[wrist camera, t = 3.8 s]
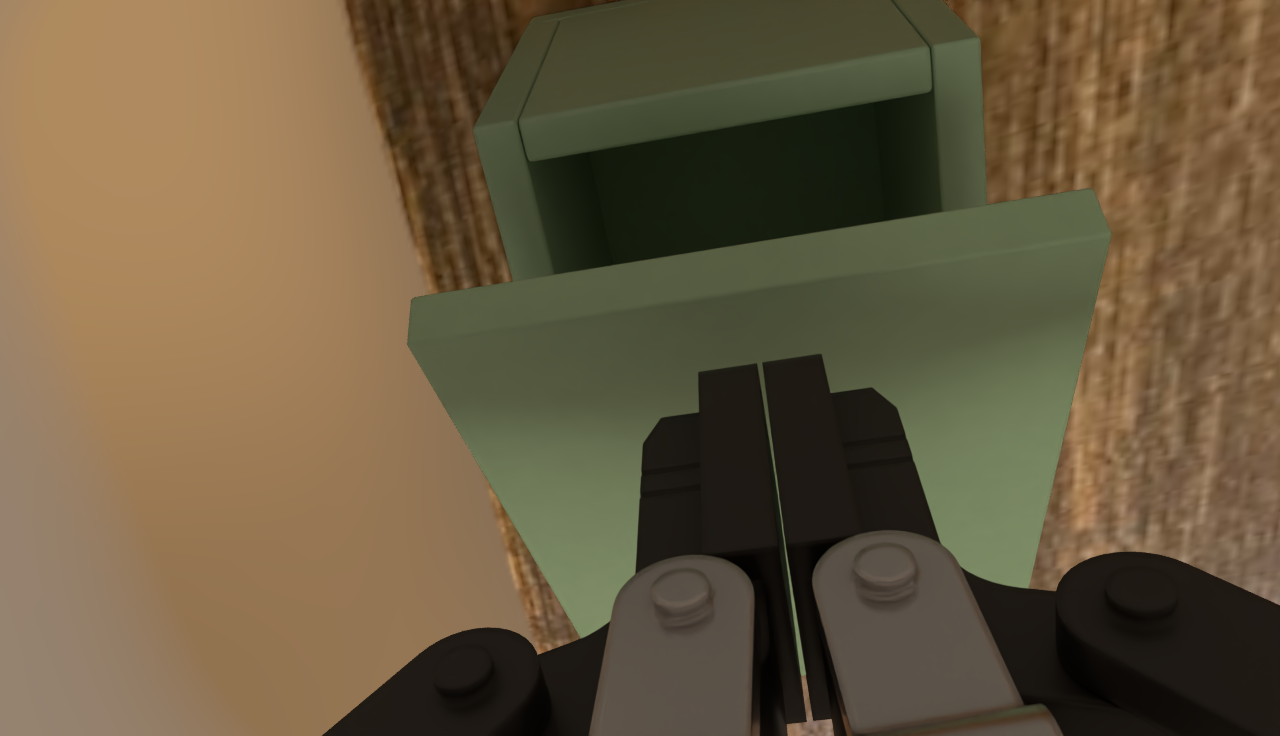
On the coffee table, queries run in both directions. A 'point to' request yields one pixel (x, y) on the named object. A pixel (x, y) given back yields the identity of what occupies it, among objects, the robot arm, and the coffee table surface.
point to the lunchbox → (727, 126)
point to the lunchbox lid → (772, 330)
